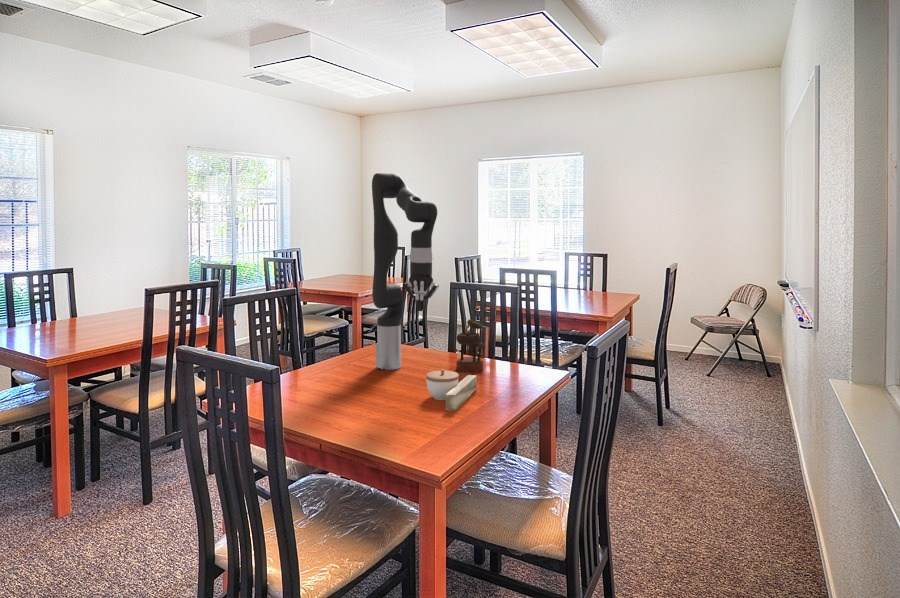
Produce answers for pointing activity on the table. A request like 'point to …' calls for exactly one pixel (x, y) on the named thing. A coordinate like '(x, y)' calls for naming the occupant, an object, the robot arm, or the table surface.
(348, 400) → the table surface
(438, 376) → the lidded jar
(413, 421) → the table surface
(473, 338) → the music box
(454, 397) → the grey long bar
